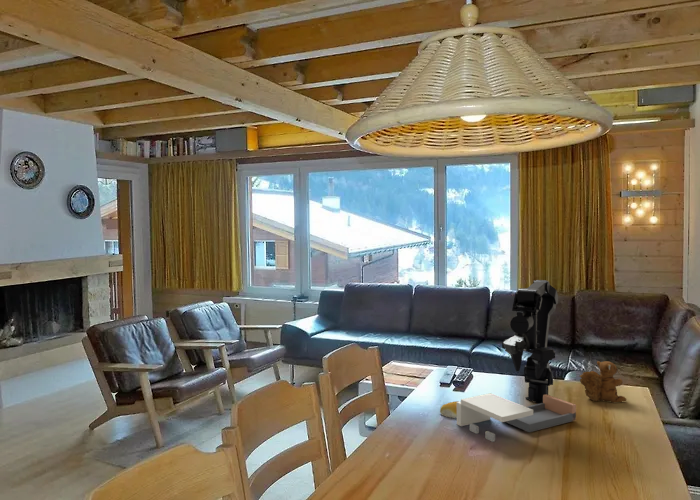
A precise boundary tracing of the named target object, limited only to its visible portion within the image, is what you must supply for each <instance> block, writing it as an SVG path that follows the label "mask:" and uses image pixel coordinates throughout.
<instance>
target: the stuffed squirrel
mask: <svg viewBox="0 0 700 500" xmlns="http://www.w3.org/2000/svg"><path fill="white" fill-rule="evenodd" d="M596 364H597V366H598V368H599V373H598V372H597V371H594V370H591V371H584V372H582V373H581V375H579V377H580V379H579V381H580V384H582V385H583V386H584V392H585V395H586V397H588V399H589V400H592V401H593V400H594V401H593V402H599V401H603V400H604V401H603V402H607V401H611V402H610V403H614V402H620V403H623V402H622V401H626V402H627V398H626V397H625V396H623V395H618V389H617V387H620V386H622V385H623V382H624V381H623V379H622V378H615V377H614V376H615V375H616V374H617V372H618V374H621V372H620V370H619V369H618V367H617V366H616V364H615V363H613V362H611V361H605V360H604V361H599V360H597V361H596ZM598 400H599V401H598Z"/></svg>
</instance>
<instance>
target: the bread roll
mask: <svg viewBox="0 0 700 500" xmlns="http://www.w3.org/2000/svg"><path fill="white" fill-rule="evenodd" d="M457 402H459V400H458V401H457V400H456V401H452V402H451V401H450V402H448V403H444V404H443V405H442V406H441V407H440V409H439V410H440V411H439V412H440V414H441V415H442V416H444V417H446V418H449V419H457Z"/></svg>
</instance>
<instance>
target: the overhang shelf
mask: <svg viewBox="0 0 700 500" xmlns="http://www.w3.org/2000/svg"><path fill="white" fill-rule="evenodd" d="M531 415H533V409H530V408H527V406H525V405H522V404H519V403H517V402H514V401H512V400H509V399H506V398H504V397H502V396H499V395H497V394H493V393H492V392H491V393H486V394H481V395H475V396H471V397H466V398H461V399H460V401H458V402H457V418H456V425H458V426H460V427H463V426H468V425H469V431H470V432H472V433H474V434H476V435H477V434H479V433H480V427H479V425H477V424H478V423H481V422H486V421H490V420H491V419H494V420H496V421H499V422H500V423H507V422H506V421H510V420H514V419H518V418H522V417H526V416H531ZM476 423H477V424H476ZM485 439H486V440H488V441H491V442H493V443H494V442H495V441H496V434H495V433H494V432H491V431H490V430H487V431H485Z"/></svg>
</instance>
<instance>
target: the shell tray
mask: <svg viewBox="0 0 700 500" xmlns="http://www.w3.org/2000/svg"><path fill="white" fill-rule="evenodd" d="M526 407H527V408H530V409H533V415H531V416H526V417H522V418H518V419H514V420H510V421H506V422H505V423H506V424H508V425H511V426H513V427H516V428H518V429H520V430H523V431H525V432H527V433H532V432H536V431H539V430H544V429H548V428H552V427H555V426H559V425H563V424H566V423H570V422H574V421H576V420H577V419H576V418H577V404H575V403H572V402H570V401H566V400H564V399H560V398H558V397H555V396H552V395H549V394H548V395H547V394H546V395H543V403H540V404H539V403H536V404H532V405H528V406H526Z"/></svg>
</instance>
